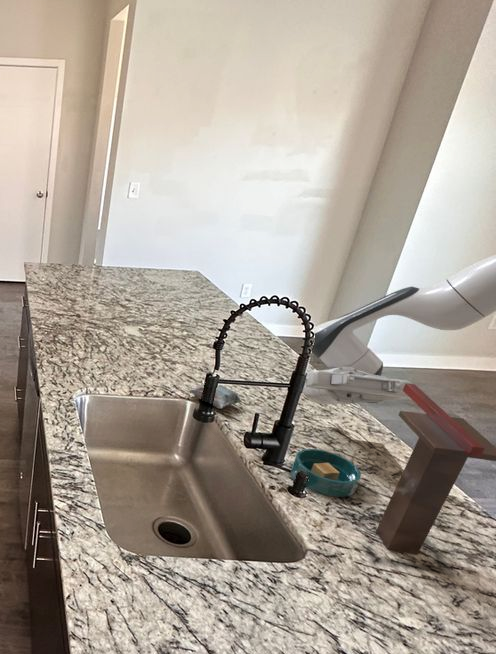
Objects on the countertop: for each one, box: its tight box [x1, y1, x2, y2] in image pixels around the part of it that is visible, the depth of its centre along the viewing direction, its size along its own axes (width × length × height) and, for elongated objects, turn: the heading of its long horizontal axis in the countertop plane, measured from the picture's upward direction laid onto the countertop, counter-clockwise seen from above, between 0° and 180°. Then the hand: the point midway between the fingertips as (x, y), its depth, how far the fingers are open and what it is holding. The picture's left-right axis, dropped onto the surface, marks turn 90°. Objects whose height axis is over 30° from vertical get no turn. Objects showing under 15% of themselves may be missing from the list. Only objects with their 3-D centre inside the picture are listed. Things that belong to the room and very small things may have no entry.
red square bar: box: [403, 383, 485, 457], centre depth 93 cm, size 2×22×2 cm, turn 167°
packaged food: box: [186, 383, 243, 410], centre depth 149 cm, size 9×12×5 cm
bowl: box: [290, 448, 362, 498], centre depth 117 cm, size 12×12×5 cm
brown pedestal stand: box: [375, 410, 496, 556], centre depth 96 cm, size 12×12×26 cm
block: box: [311, 463, 340, 481], centre depth 118 cm, size 4×4×4 cm
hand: (374, 382), depth 115 cm, fingers open, 8 cm apart
